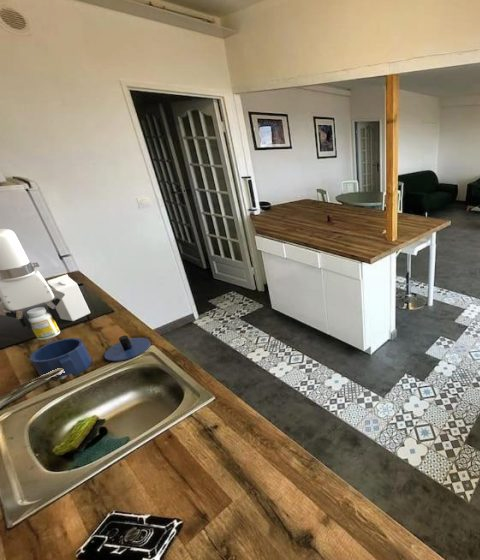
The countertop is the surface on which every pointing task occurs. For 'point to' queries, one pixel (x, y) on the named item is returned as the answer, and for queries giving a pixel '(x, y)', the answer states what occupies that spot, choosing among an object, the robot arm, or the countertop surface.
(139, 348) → the pot lid
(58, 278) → the milk carton
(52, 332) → the supplement bottle
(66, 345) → the pot
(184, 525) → the countertop surface
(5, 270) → the robot arm
